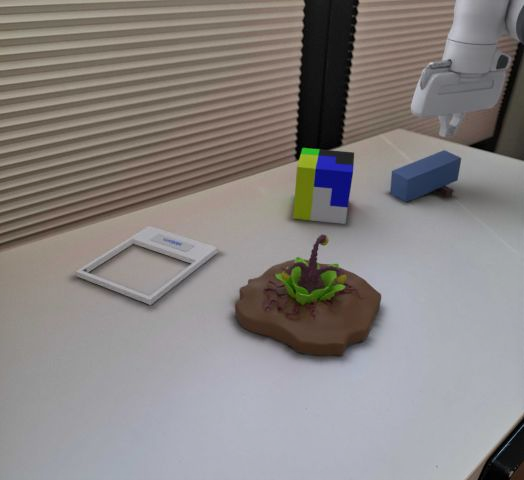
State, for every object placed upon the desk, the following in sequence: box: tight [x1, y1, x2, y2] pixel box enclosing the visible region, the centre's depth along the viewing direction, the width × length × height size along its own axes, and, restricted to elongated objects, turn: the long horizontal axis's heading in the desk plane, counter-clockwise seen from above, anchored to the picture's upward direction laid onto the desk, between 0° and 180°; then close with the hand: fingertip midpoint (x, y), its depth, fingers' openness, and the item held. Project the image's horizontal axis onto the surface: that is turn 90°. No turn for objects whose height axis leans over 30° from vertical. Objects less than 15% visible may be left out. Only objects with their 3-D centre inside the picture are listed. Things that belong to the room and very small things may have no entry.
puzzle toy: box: [292, 147, 355, 225], centre depth 97 cm, size 10×10×10 cm
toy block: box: [389, 149, 462, 203], centre depth 106 cm, size 5×5×14 cm
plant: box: [234, 234, 382, 357], centre depth 72 cm, size 20×20×11 cm
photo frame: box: [75, 225, 219, 306], centre depth 83 cm, size 15×1×18 cm
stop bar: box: [432, 185, 455, 199], centre depth 110 cm, size 2×9×2 cm, turn 29°
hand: (446, 135), depth 103 cm, fingers closed
